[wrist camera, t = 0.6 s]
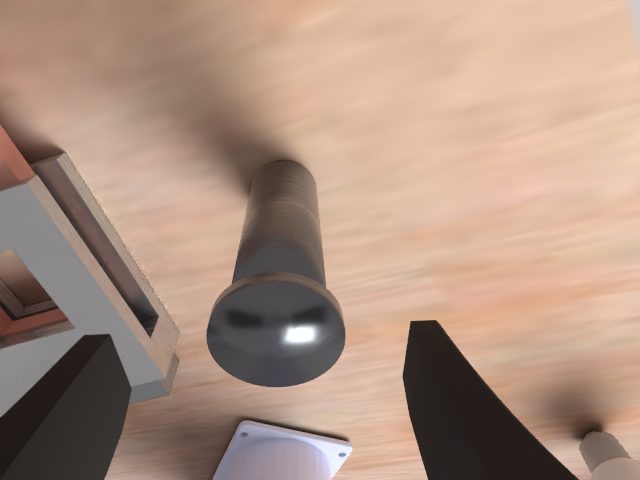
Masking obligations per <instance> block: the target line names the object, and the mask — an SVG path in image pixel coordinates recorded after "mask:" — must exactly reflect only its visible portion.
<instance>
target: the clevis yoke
mask: <svg viewBox="0 0 640 480" xmlns="http://www.w3.org/2000/svg"><path fill="white" fill-rule="evenodd" d="M28 165H29V166H30V168H31V169H32V171H33V172H34V173H35V176H31V177H28V178H25V179H22V180H19V181H16V182H12V183H9V184H6V185H3V186H0V252H2V251H5V250H9V249H12V250H13V251H14V252H15V253H16V255H17V256H18V257H19V258H20V260H21V261H22V262H23V263H24V265H25V266H26V267H27V268H28V270H29V271H30V272H31V273H32V275H33V276H34V277H35V278H36V280H37V281H38V282H39V283H40V285H41V286H42V287H43V288H44V289H45V291H46V292H47V293H48V294H49V296H50V297H51V298H52V299H51V300H47V301H44V302H40V303H37V304H33V305H30V306H26V307H24V306H23V305H22V303H21V302H20V301H19V300H18V299H17V298H16V296H15V295H14V294H13V293H12V292H11V291H10V289H9V288H8V287H7V286H6V285H5V284H4V282H3V281H2V280H1V279H0V307H1V308H2V309H3V311H4V312H5V313H6V314H7V315H8V316H9V317H10V318H11V319H12V321H16V320H19V319H23V318H27V317H30V316H34V315H37V314H41V313H45V312H48V311H52V310H55V309H59V308H60V309H61V311H62V312H63V313H64V314H65V316H66V317H67V318H68V319H69V321H65V322H61V323H58V324H54V325H50V326H47V327H43V328H39V329H36V330H32V331H28V332H25V333H21V334H17V335H14V336H10V337H7V338H3V339H0V414H1V415H2V416H3V415H4V414H5V413H6V412H7V411H8V410H9V409H10V408H11V407H12V406H13V405H14V404H15V403H16V402H17V401H18V400H19V399H20V398H21V397H22V396H23V395H24V394H25V393H26V392H27V391H28V390H29V389H30V388H31V387H32V386H33V385H34V384H35V383H36V382H37V381H38V380H39V379H40V378H41V377H42V376H43V375H44V374H45V373H46V372H47V371H48V370H49V369H50V368H51V367H52V366H53V365H54V364H55V363H56V362H57V361H58V360H59V359H60V358H61V357H62V356H63V355H64V354H65V353H66V352H67V351H68V350H69V349H70V348H71V347H72V346H73V345H74V344H75V343H76V342H77V341H78V340H79V339H80V338H82V337H83V336H84V335H94V334H110V335H111V337H112V340H113V342H114V345H115V347H116V350H117V352H118V355H119V358H120V360H121V363H122V365H123V368H124V370H125V373H126V375H127V378H128V380H129V383H130V385H131V388H132V391H131V395H130V400H129V404H134V403H138V402H142V401H146V400H150V399H154V398H158V397H162V396H166V395H169V394H170V391H171V387H172V384H173V380H174V377H175V374H176V370H177V367H178V363H179V360H178V358H177V357H176V355H175V354H174V349H175V346H176V343H177V340H178V337H179V334H180V332H179V330H178V329H177V327H176V326H175V324H174V323H173V321H172V319H171V318H170V316H169V315H168V313H167V312H166V310H165V308H164V307H163V305H162V304H161V302H160V301H159V299H158V297H157V296H156V294H155V293H154V291H153V290H152V288H151V286H150V285H149V283H148V282H147V280H146V279H145V277H144V275H143V274H142V272H141V271H140V269H139V268H138V266H137V264H136V263H135V261H134V260H133V258H132V257H131V255H130V253H129V252H128V250H127V249H126V247H125V246H124V244H123V242H122V241H121V239H120V238H119V236H118V235H117V233H116V231H115V230H114V228H113V227H112V225H111V224H110V222H109V220H108V219H107V217H106V216H105V214H104V213H103V211H102V209H101V208H100V206H99V205H98V203H97V202H96V200H95V198H94V197H93V195H92V194H91V192H90V191H89V189H88V187H87V186H86V184H85V183H84V181H83V180H82V178H81V176H80V175H79V173H78V172H77V170H76V169H75V167H74V165H73V164H72V162H71V161H70V159H69V158H68V156H67V154H66V153H62V154H59V155H55V156H52V157H49V158H46V159H43V160H40V161H37V162H34V163H30V164H28ZM129 404H128V405H129Z"/></svg>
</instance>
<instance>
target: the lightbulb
mask: <svg viewBox="0 0 640 480" xmlns="http://www.w3.org/2000/svg"><path fill="white" fill-rule="evenodd" d="M579 450H580V452H581V454H582V456H583V459H584V460H585V462H586V464H587V466H588V467H589V470H590V471H591V473H592V480H640V464H639V463H638V462H637V461H635V460H633V459H631V458H630V456H629V455H628V453H627V452H626V451H625V450H624V448H623V447H622V445H621V444H620V443H619V441H618V440H617V439H616V438H615V437H614V436H613V435H611V434H609V433H605V432H600V433H599V432H596V431H593V432H590V433H588V434H586V435H585V438H584V439H583V440H582V442H581V443H580V447H579Z"/></svg>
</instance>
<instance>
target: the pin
mask: <svg viewBox="0 0 640 480" xmlns="http://www.w3.org/2000/svg"><path fill="white" fill-rule="evenodd" d="M207 344H208V348H209V350H210V353H211V355H212V357H213V358H214V359H215V361H216V362H217V363H218V364H219V366H220V367H221V368H223V369H224V370H225V371H226V372H228V373H229V374H231V375H232V376H234V377H236V378H238V379H240V380H242V381H245V382H247V383H251V384H254V385H259V386H266V387H287V386H293V385H298V384H302V383H305V382H308V381H310V380H313V379H315V378H317V377H319V376H320V375H322V374H323V373H325V372H326V371H327V370H329V369H330V368H331V367H332V366H333V365H334V364H335V363H336V361H337V360H338V358H339V357H340V355H341V353H342V351H343V348H344V345H345V327H344V320H343V314H342V310H341V308H340V305H339V303H338V302H337V300H336V298H335V297H334V296H333V295H332V293H331V292H330V291H329V290H327V289H326V281H325V271H324V261H323V251H322V240H321V230H320V220H319V210H318V200H317V190H316V184H315V181H314V178H313V176H312V175H311V174H310V172H309V171H308V170H307V169H306V168H304V167H303V166H302V165H300V164H298V163H295V162H292V161H285V160H281V161H275V162H271V163H269V164H267V165H265V166H264V167H262V168H261V169H260V170H259V171H258V172H257V173H256V175H255V177H254V179H253V182H252V186H251V190H250V195H249V200H248V205H247V210H246V215H245V220H244V225H243V230H242V235H241V240H240V245H239V250H238V255H237V260H236V265H235V270H234V275H233V280H232V285H230V286H229V287H228V288H227V289H225V290H224V291H223V293H222V294H221V295H220V296H219V297H218V299H217V300H216V302H215V304H214V306H213V308H212V312H211V316H210V320H209V324H208V328H207Z"/></svg>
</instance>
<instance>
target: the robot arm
mask: <svg viewBox="0 0 640 480" xmlns="http://www.w3.org/2000/svg"><path fill="white" fill-rule="evenodd" d="M403 381H404V387H405V393H406V399H407V404H408V410H409V415H410V419H411V423H412V426H413V430H414V433H415V436H416V440H417V443H418V447H419V450H420V454H421V457H422V460H423V464H424V467H425V470H426V474H427V477H428V480H579V479H578V478H577V477H576V476H574V475H573V474H572V473H571V472H570V471H569V470H568V469H567V468H566V467H565V466H564V465H563V464H562V463H561V462H560V461H559V460H557V459H556V458H555V457H554V456H553V455H552V454H551V453H550V452H549V451H548V450H547V449H546V448H545V447H544V446H543V445H542V444H541V443H540V442H539V441H538V440H537V439H536V438H535V437H534V436H533V435H532V434H531V433H530V432H529V431H528V430H527V429H526V427H525V426H524V425H523V424H522V423H521V422H520V421H519V420H518V419H517V418H516V417H515V416H514V415H513V414H512V413H511V411H510V410H509V409H508V408H507V407H506V406H505V405H504V404H503V402H502V401H501V400H500V399H499V398H498V397H497V396H496V394H495V393H494V392H493V391H492V390H491V389H490V387H489V386H488V385H487V384H486V383H485V382H484V380H483V379H482V378H481V377H480V376H479V374H478V373H477V372H476V371H475V370H474V368H473V367H472V366H471V365H470V363H469V362H468V361H467V359H466V358H465V357H464V356H463V354H462V353H461V352H460V351H459V349H458V348H457V347H456V345H455V344H454V343H453V341H452V340H451V339H450V337H449V336H448V335H447V333H446V332H445V331H444V329H443V328H442V327H441V325H440V324H439V323H438V322H437V321H436V320H427V321H411V323H410V329H409V336H408V343H407V350H406V357H405V364H404V371H403ZM131 391H132V388H131V385H130V383H129V380H128V378H127V375H126V373H125V370H124V368H123V365H122V363H121V360H120V358H119V355H118V352H117V350H116V347H115V345H114V342H113V340H112V337H111V335H110V334H94V335H84V336H83V337H82V338H80V339H79V340H78V341H77V342H76V343H75V344H74V345H73V346H72V347H71V348H70V349H69V350H68V351H67V352H66V353H65V354H64V355H63V356H62V357H61V358H60V359H59V360H58V361H57V362H56V363H55V364H54V365H53V366H52V367H51V368H50V369H49V370H48V371H47V372H46V373H45V374H44V375H43V376H42V377H41V378H40V379H39V380H38V381H37V382H36V383H35V384H34V385H33V386H32V387H31V388H30V389H29V390H28V391H27V392H26V393H25V394H24V395H23V396H22V397H21V398H20V399H19V400H18V401H17V402H16V403H15V404H14V405H13V406H12V407H11V408H10V409H9V410H8V411H7V412H6V413H5V414H4V415H3V416H2V417H1V418H0V480H104V479H105V476H106V474H107V471H108V468H109V466H110V463H111V460H112V458H113V455H114V452H115V449H116V447H117V444H118V441H119V438H120V435H121V433H122V429H123V425H124V421H125V417H126V413H127V409H128V404H129V400H130V395H131ZM351 452H352V444H351V443H350V442H347V441H343V440H338V439H333V438H328V437H324V436H319V435H314V434H310V433H305V432H300V431H296V430H291V429H286V428H282V427H277V426H272V425H267V424H263V423H258V422H253V421H248V420H246V421H242V422H241V423H240V424H239V426H238V428H237V430H236V432H235V434H234V436H233V438H232V440H231V442H230V444H229V446H228V448H227V450H226V452H225V454H224V456H223V458H222V460H221V462H220V464H219V466H218V468H217V470H216V472H215V474H214V476H213V478H212V480H331V479H332V478H333V476H334V475H335V473H336V472H337V471H338V469H339V468H340V467H341V465H342V464H343V462H344V461H345V460H346V458H347V457H348V456H349V454H350V453H351Z"/></svg>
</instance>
